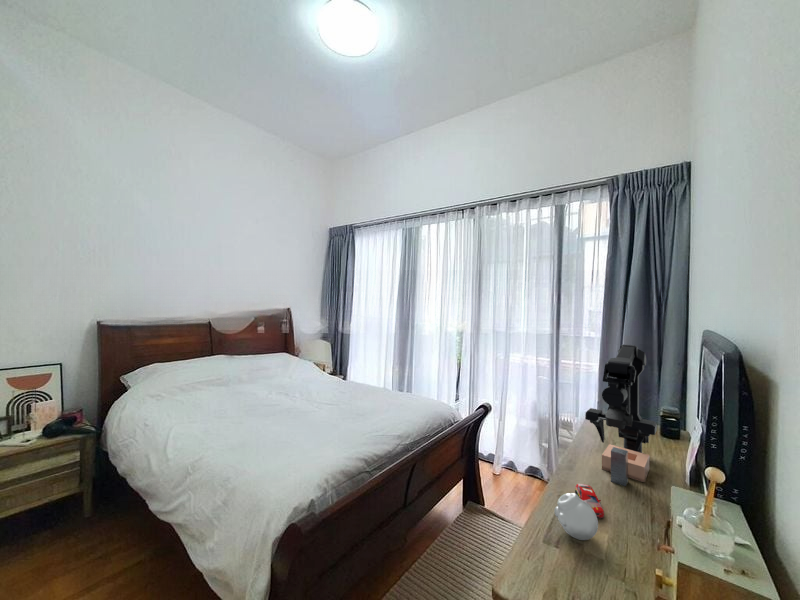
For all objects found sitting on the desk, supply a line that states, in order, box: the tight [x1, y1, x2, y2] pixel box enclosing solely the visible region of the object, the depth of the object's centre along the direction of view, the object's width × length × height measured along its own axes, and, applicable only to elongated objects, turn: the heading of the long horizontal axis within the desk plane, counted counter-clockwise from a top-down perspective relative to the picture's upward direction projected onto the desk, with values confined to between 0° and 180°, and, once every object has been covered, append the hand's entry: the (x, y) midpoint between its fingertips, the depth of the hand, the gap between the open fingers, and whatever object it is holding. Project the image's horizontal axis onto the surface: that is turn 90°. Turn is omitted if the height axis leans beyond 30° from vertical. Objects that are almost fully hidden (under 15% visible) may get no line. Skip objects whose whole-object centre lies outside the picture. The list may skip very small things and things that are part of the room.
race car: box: [574, 483, 605, 519], centre depth 91 cm, size 13×5×4 cm, turn 161°
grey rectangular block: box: [610, 447, 629, 487], centre depth 103 cm, size 4×4×10 cm
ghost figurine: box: [553, 492, 599, 541], centre depth 79 cm, size 9×10×10 cm
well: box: [601, 443, 650, 484], centre depth 111 cm, size 12×12×5 cm
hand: (619, 446), depth 103 cm, fingers open, 9 cm apart
